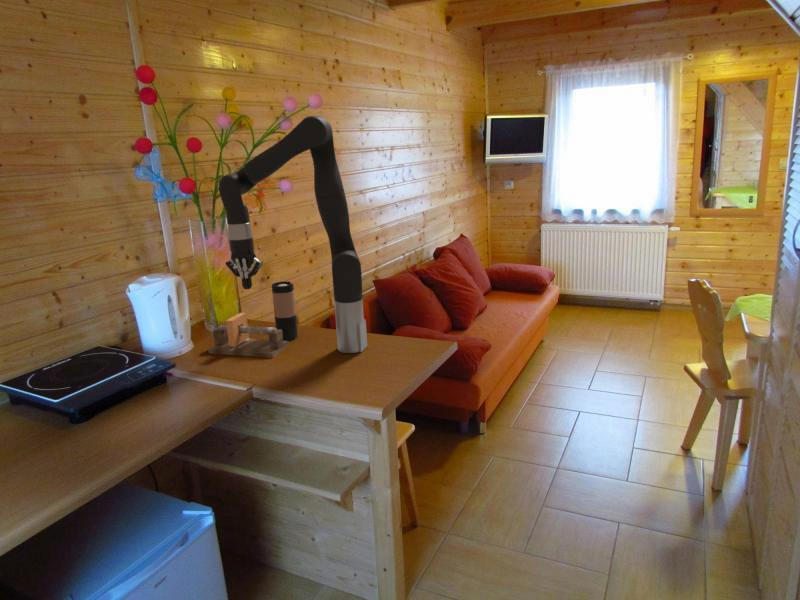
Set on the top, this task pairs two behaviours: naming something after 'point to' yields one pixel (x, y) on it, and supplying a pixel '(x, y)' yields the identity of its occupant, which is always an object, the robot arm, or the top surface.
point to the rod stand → (249, 342)
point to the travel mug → (285, 309)
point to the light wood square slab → (236, 329)
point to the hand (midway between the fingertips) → (247, 288)
